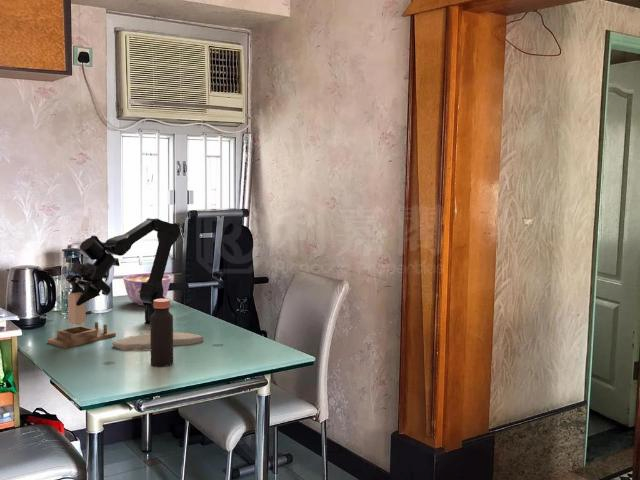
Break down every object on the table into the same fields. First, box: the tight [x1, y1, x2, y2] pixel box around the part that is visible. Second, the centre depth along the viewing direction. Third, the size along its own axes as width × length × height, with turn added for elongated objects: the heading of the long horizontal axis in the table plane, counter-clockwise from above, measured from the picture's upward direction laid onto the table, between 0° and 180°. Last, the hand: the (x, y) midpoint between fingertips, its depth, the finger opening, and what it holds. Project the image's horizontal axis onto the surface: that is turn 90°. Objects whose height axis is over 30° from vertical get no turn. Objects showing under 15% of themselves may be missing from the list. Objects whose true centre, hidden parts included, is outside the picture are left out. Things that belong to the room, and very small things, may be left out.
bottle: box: [149, 298, 174, 368], centre depth 205 cm, size 7×7×20 cm
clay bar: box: [67, 292, 87, 326], centre depth 229 cm, size 4×4×10 cm
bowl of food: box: [123, 273, 172, 306], centre depth 290 cm, size 20×20×12 cm
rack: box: [47, 321, 117, 349], centre depth 232 cm, size 20×10×4 cm, turn 144°
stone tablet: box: [112, 331, 204, 351], centre depth 231 cm, size 16×30×2 cm, turn 121°
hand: (73, 304), depth 228 cm, fingers closed on clay bar, 4 cm apart
